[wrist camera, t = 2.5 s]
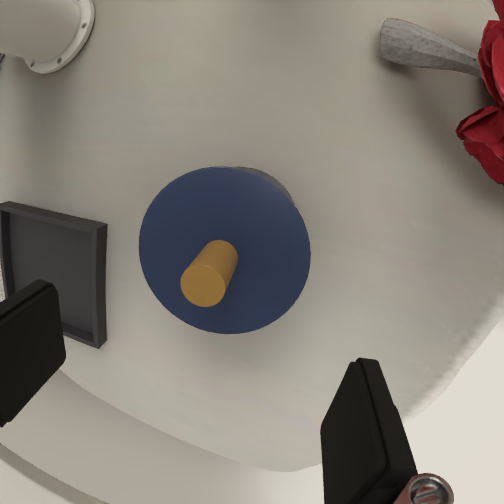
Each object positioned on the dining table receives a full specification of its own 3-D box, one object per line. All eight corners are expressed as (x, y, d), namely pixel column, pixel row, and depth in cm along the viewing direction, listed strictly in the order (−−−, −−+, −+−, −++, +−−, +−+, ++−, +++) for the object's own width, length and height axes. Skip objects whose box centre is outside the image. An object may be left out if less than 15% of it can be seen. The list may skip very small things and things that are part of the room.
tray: (15, 302, 42) (7, 308, 40) (8, 201, 37) (-3, 204, 35) (106, 340, 42) (98, 349, 39) (107, 223, 36) (97, 228, 34)
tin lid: (139, 305, 28) (105, 344, 21) (155, 153, 23) (113, 155, 17) (286, 341, 27) (285, 392, 21) (328, 187, 23) (344, 200, 17)
